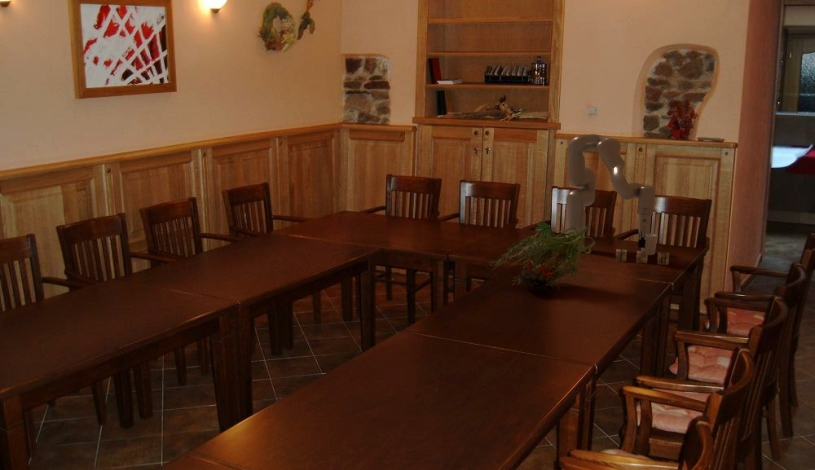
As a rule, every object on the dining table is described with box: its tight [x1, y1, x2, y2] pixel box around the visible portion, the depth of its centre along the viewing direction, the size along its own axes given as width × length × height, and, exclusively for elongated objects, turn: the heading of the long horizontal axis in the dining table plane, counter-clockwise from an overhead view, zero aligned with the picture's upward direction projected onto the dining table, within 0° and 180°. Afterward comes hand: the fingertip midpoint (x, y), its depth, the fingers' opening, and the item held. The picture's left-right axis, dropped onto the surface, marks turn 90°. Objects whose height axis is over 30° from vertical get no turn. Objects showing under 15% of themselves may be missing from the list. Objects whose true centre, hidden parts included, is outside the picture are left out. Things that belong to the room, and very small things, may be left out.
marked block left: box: [615, 248, 628, 262], centre depth 422 cm, size 5×5×5 cm
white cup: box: [640, 233, 658, 256], centre depth 436 cm, size 8×8×10 cm
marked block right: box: [656, 251, 670, 266], centre depth 416 cm, size 5×5×5 cm
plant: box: [488, 220, 599, 292], centre depth 364 cm, size 35×35×40 cm
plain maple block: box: [635, 250, 649, 264], centre depth 419 cm, size 5×5×5 cm
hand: (641, 247), depth 418 cm, fingers closed
